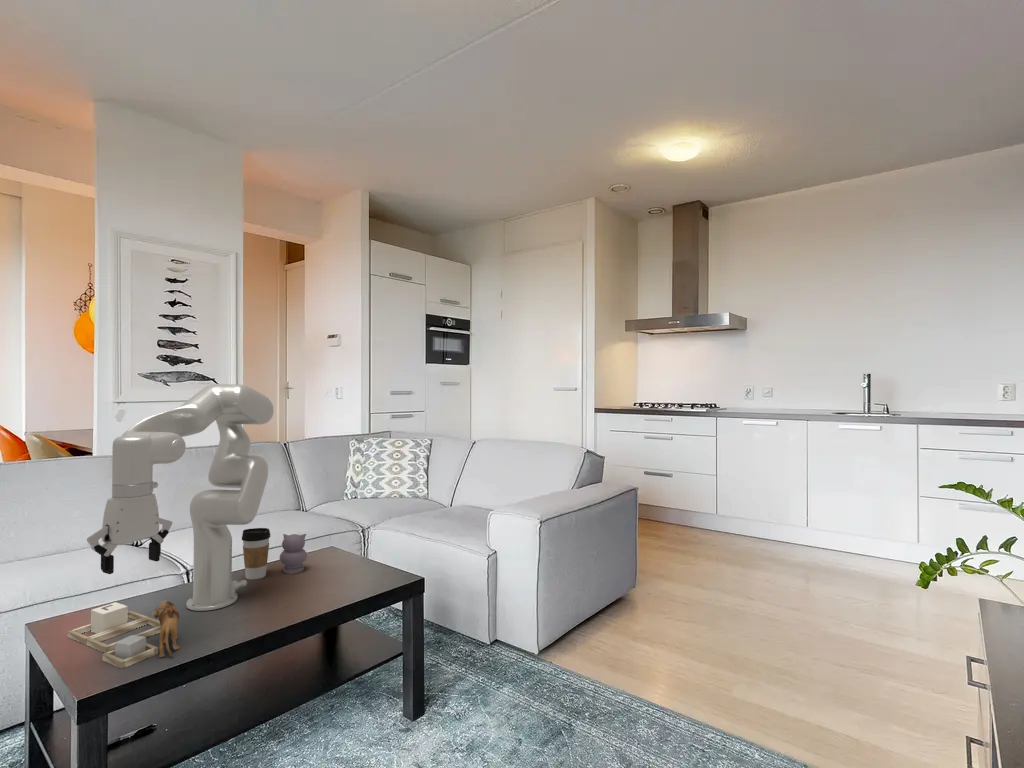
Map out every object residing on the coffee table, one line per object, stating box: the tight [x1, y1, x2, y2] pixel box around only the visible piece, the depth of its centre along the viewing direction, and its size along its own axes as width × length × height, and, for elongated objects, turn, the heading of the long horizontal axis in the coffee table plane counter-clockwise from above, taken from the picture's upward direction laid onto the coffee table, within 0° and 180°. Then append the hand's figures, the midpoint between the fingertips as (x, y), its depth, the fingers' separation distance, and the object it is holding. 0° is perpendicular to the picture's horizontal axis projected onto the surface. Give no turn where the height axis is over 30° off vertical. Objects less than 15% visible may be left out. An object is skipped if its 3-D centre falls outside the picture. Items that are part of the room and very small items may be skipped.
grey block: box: [114, 634, 147, 660], centre depth 123 cm, size 4×4×4 cm
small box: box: [102, 642, 159, 670], centre depth 123 cm, size 8×8×1 cm
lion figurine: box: [151, 600, 180, 658], centre depth 129 cm, size 15×5×9 cm, turn 40°
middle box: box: [85, 616, 161, 654], centre depth 133 cm, size 14×8×1 cm, turn 152°
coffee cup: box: [241, 527, 272, 580], centre depth 176 cm, size 8×8×15 cm
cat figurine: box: [279, 533, 308, 575], centre depth 182 cm, size 8×8×12 cm
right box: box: [67, 610, 150, 646], centre depth 137 cm, size 14×8×1 cm, turn 152°
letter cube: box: [90, 601, 129, 634], centre depth 137 cm, size 6×6×6 cm
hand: (131, 566), depth 124 cm, fingers open, 9 cm apart
